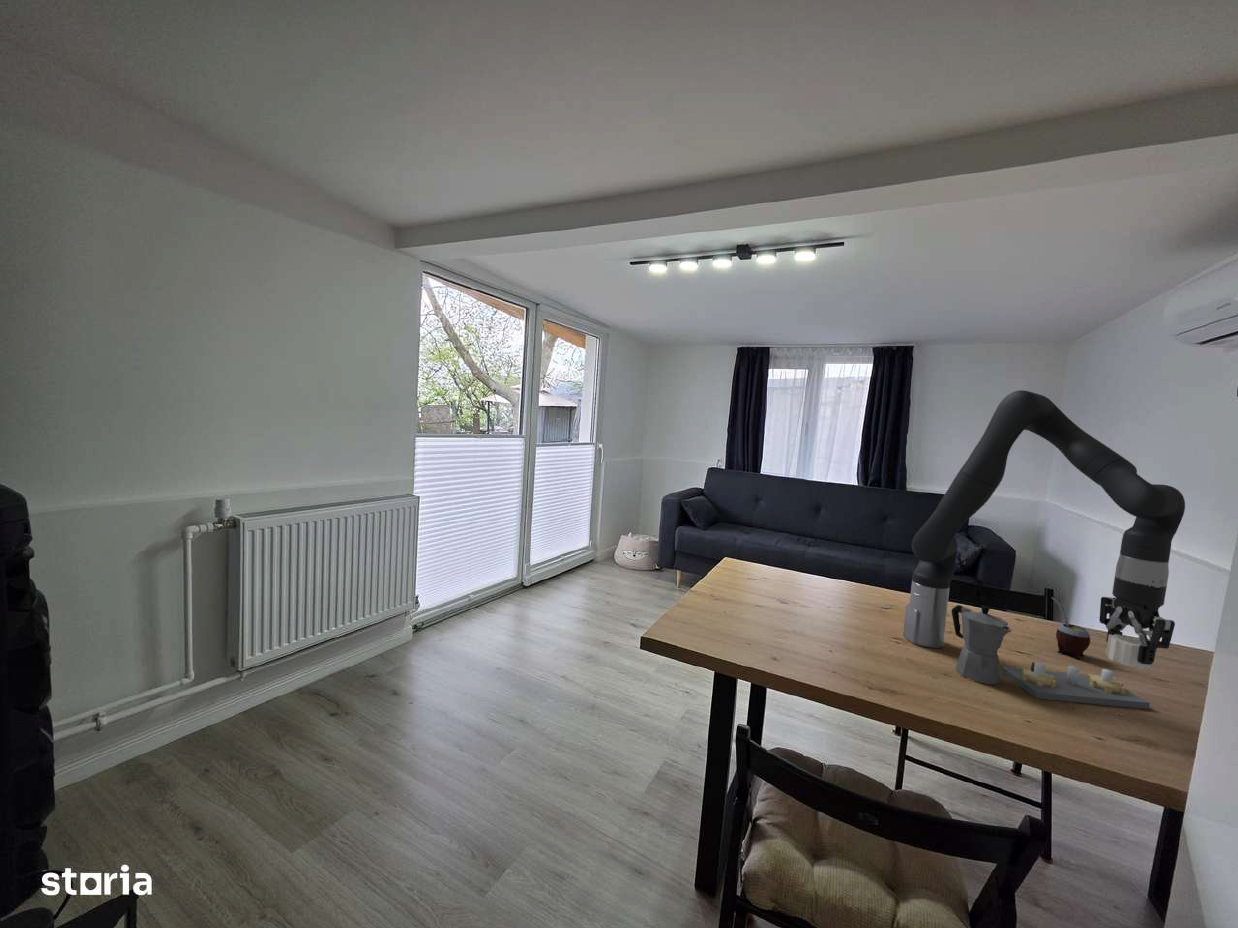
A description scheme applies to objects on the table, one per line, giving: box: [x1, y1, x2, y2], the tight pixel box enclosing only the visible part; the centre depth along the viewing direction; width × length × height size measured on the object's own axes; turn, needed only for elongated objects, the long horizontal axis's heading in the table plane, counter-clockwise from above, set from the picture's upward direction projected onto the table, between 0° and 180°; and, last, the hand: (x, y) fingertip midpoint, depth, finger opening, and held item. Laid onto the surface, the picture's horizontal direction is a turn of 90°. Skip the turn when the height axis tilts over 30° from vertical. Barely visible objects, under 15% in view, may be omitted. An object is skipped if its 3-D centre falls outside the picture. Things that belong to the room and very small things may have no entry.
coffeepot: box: [951, 604, 1012, 685], centre depth 124 cm, size 15×9×18 cm, turn 13°
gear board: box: [1001, 661, 1151, 710], centre depth 119 cm, size 24×12×6 cm, turn 85°
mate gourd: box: [1050, 596, 1091, 661], centre depth 139 cm, size 8×8×15 cm
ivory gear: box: [1105, 634, 1152, 670], centre depth 104 cm, size 7×7×4 cm
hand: (1128, 655), depth 104 cm, fingers closed on ivory gear, 6 cm apart
